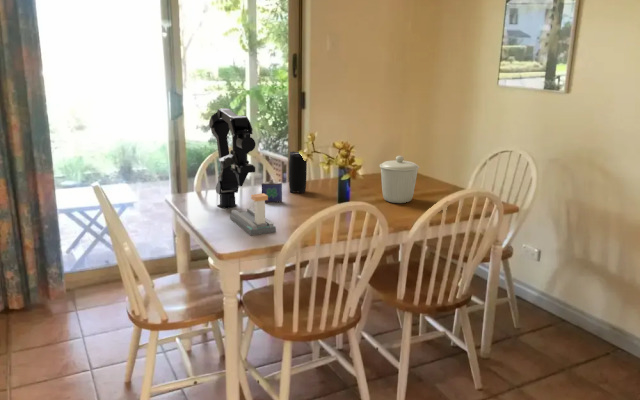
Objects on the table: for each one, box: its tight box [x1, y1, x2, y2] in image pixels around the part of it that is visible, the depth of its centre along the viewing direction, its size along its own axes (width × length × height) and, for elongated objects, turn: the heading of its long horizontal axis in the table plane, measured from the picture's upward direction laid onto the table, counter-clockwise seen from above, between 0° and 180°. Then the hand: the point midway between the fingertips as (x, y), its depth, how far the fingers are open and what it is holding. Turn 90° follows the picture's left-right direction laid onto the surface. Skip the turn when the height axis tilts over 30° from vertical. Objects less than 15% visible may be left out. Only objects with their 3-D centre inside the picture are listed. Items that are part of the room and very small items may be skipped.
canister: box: [379, 155, 420, 204], centre depth 248 cm, size 18×18×21 cm
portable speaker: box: [288, 150, 308, 194], centre depth 262 cm, size 9×9×20 cm
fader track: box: [229, 207, 277, 236], centre depth 212 cm, size 24×10×3 cm, turn 28°
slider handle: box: [250, 193, 268, 228], centre depth 203 cm, size 5×5×12 cm
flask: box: [261, 178, 283, 204], centre depth 245 cm, size 9×3×11 cm, turn 95°
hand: (240, 186), depth 219 cm, fingers closed
